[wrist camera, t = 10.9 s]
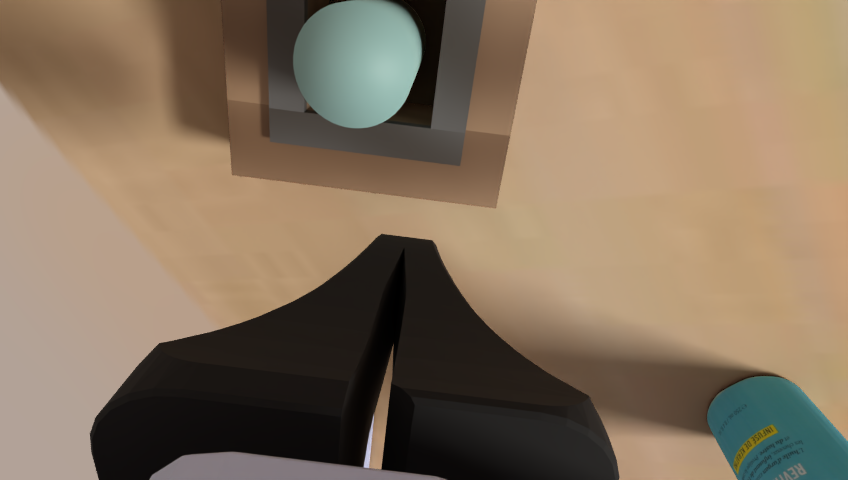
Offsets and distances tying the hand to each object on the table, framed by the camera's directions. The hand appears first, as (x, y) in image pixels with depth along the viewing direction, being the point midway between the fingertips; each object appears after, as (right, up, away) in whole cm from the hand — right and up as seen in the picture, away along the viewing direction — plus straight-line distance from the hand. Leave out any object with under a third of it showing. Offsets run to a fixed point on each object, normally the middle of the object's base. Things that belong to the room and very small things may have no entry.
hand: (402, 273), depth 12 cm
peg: (-1, +8, +7) cm, 11 cm away
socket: (-1, +8, +7) cm, 11 cm away
